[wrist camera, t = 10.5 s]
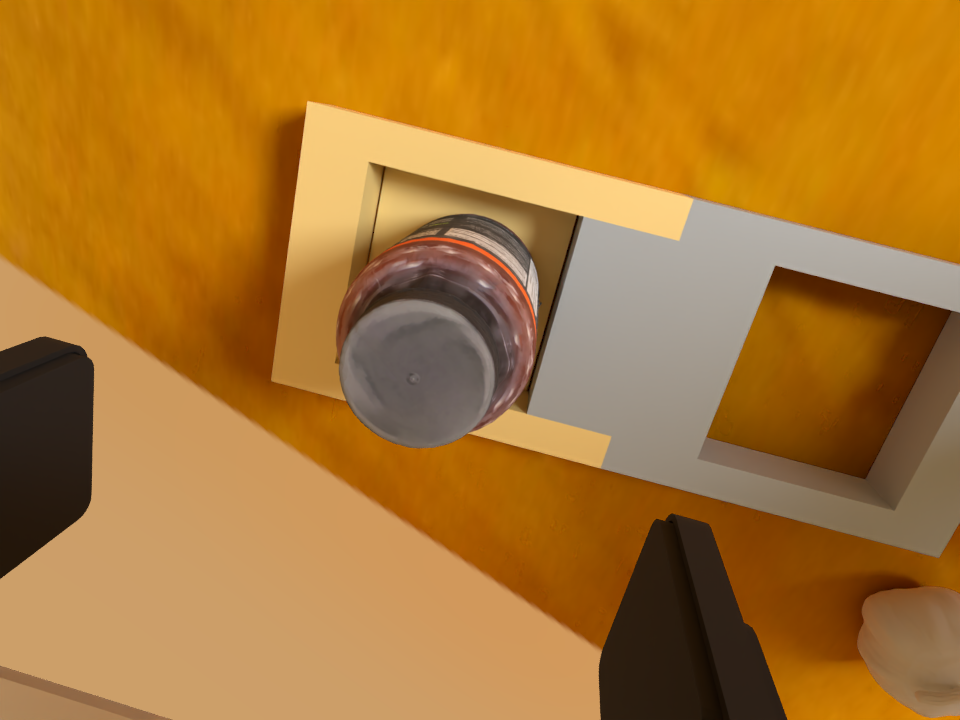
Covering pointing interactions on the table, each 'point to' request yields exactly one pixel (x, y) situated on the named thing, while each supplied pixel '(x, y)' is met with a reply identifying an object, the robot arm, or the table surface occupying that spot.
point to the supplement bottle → (439, 331)
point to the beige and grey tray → (625, 318)
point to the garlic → (915, 647)
